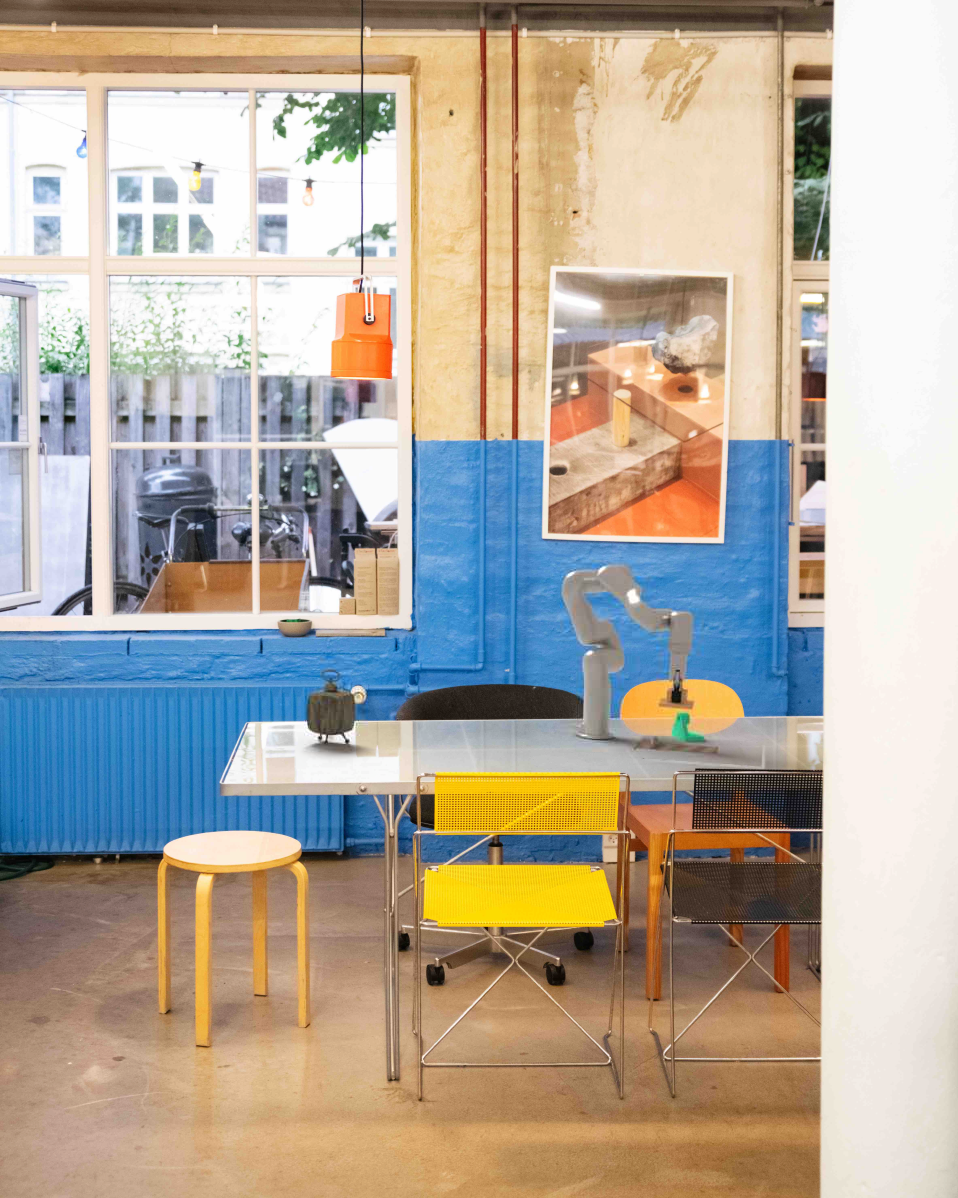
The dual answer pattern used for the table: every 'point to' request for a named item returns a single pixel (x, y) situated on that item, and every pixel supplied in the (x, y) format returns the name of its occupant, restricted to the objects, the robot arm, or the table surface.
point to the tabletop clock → (331, 710)
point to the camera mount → (684, 728)
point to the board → (675, 747)
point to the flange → (683, 705)
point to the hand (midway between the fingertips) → (676, 700)
